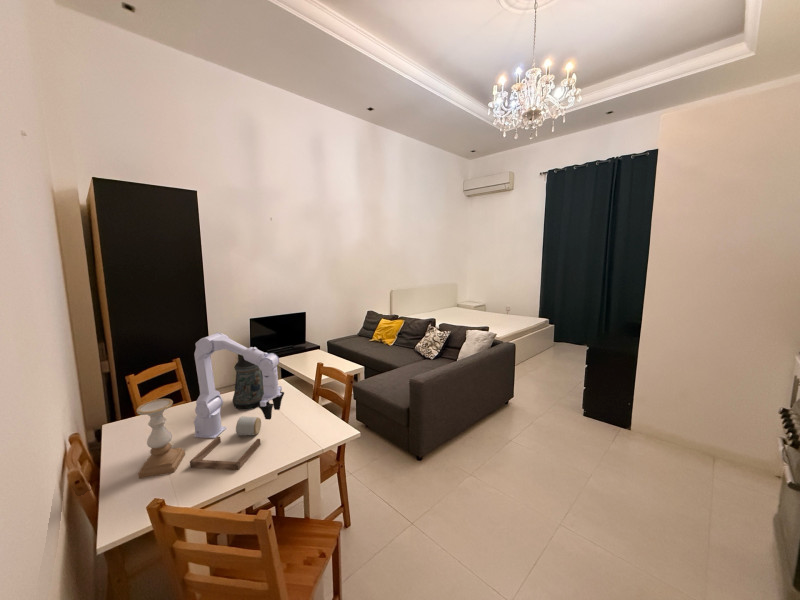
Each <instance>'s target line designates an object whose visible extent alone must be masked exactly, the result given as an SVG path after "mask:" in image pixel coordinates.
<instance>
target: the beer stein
mask: <svg viewBox="0 0 800 600" xmlns="http://www.w3.org/2000/svg"><path fill="white" fill-rule="evenodd" d="M234 370H235V384H234V392H233V397H232V400H231V401H232V405H233V407H234V408H235V409H237V410H239V411H241V410H242V411H243V410H245V411H246V410H253V409H256V408H259V406H258V404H259V403H260V401H261V400H262V398H263V395H264V388H263V375H262V371H261V370H260V368H259V366H257V365H255V364H253V363H251V362H248V361H246V360H244V357H243V356H242V355H241V357H240V359H239V360H238V361H237V362H236V364H235V365H234Z"/></svg>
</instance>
